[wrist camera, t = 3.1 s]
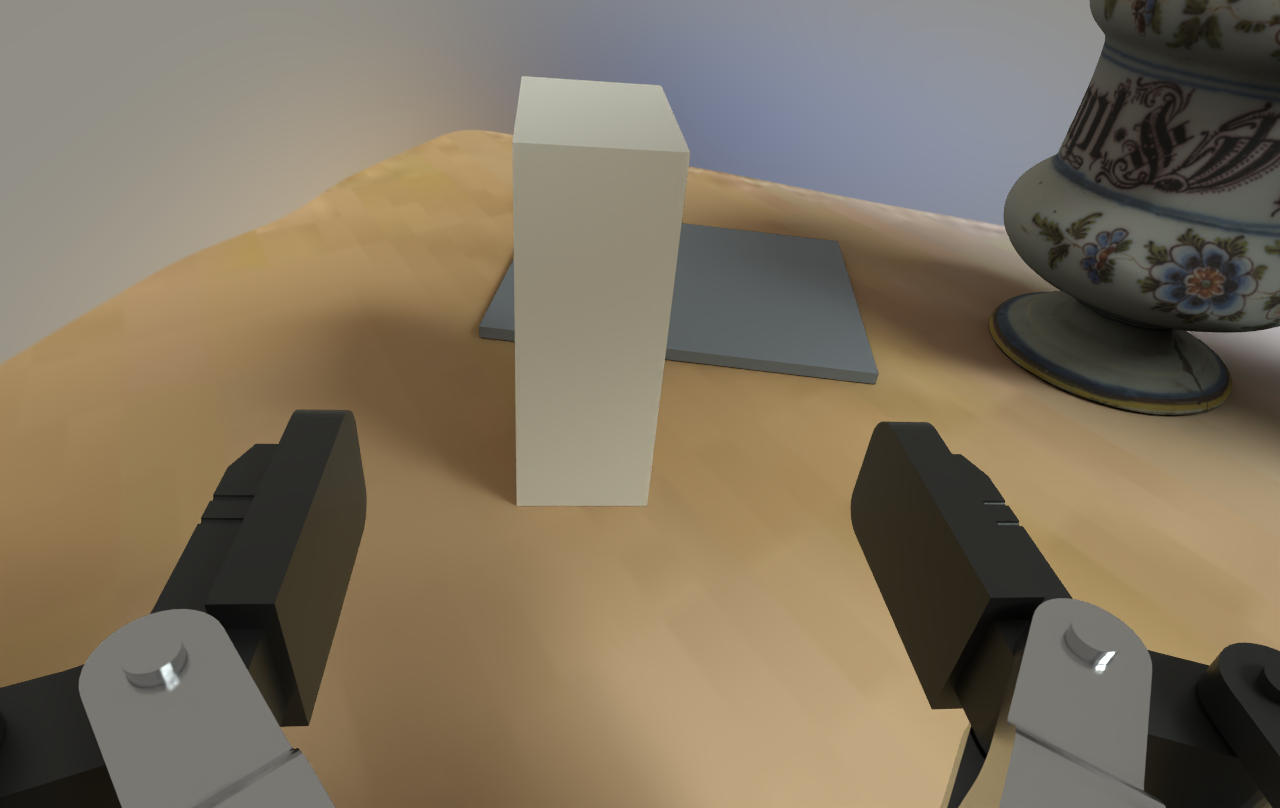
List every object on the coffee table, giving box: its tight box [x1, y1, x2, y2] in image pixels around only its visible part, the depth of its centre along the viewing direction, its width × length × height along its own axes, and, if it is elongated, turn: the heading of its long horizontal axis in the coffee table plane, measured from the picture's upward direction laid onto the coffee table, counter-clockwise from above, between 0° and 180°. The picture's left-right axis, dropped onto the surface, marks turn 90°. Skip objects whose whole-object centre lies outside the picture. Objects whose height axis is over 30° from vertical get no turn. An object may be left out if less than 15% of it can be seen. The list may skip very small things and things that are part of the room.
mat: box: [479, 223, 878, 384], centre depth 36 cm, size 16×13×1 cm
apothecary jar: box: [989, 0, 1280, 415], centre depth 29 cm, size 12×12×18 cm
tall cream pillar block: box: [513, 76, 690, 506], centre depth 23 cm, size 4×6×11 cm, turn 5°
